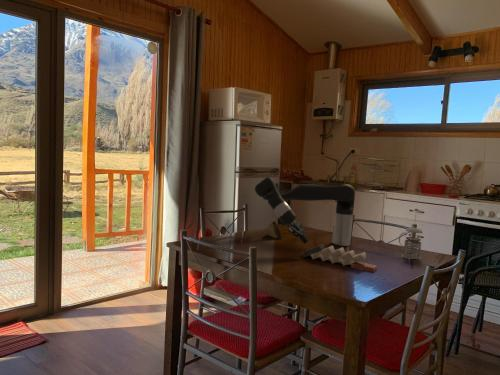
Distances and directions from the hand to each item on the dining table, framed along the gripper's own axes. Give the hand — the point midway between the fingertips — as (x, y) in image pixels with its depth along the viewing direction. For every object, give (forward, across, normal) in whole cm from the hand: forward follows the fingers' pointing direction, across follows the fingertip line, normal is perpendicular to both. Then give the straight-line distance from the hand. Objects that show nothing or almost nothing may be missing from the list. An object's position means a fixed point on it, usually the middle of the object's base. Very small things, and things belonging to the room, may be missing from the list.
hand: (306, 242), depth 189 cm
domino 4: (+14, 0, +5) cm, 15 cm away
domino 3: (+10, 0, +2) cm, 11 cm away
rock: (-16, -28, -26) cm, 41 cm away
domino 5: (+17, 0, +9) cm, 19 cm away
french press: (+34, -37, +24) cm, 56 cm away
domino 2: (+7, 0, -1) cm, 7 cm away
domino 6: (+20, 0, +12) cm, 23 cm away
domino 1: (+4, 0, -5) cm, 6 cm away
